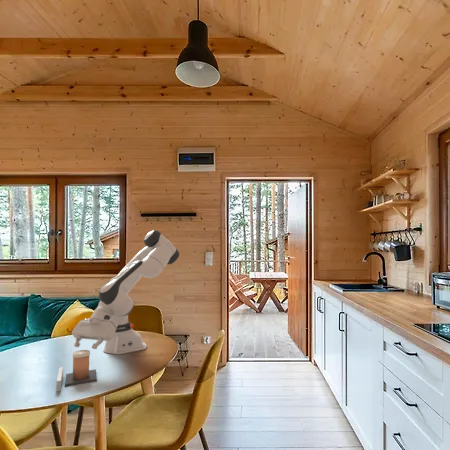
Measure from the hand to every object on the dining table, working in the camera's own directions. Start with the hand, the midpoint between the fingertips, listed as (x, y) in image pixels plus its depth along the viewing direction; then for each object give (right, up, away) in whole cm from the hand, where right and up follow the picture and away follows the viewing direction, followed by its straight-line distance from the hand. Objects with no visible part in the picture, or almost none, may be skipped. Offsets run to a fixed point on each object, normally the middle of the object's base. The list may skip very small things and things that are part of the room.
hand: (84, 347), depth 143 cm
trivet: (0, -12, -4) cm, 12 cm away
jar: (0, -11, -4) cm, 12 cm away
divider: (-6, -12, -9) cm, 16 cm away
